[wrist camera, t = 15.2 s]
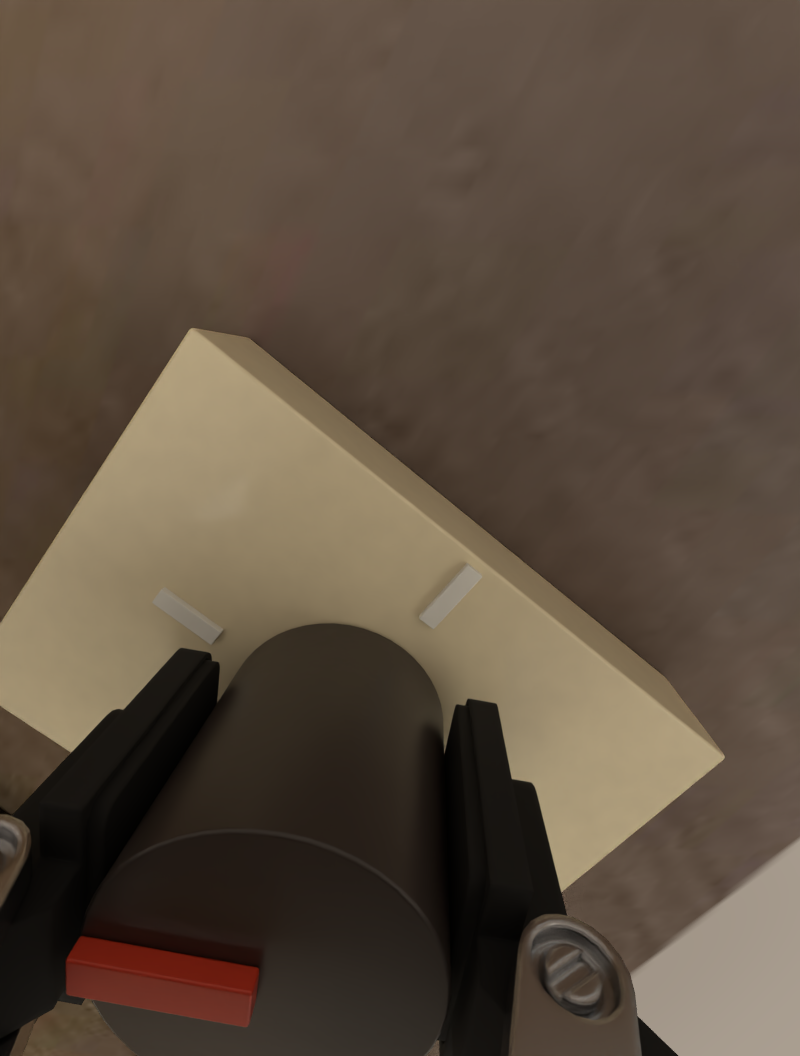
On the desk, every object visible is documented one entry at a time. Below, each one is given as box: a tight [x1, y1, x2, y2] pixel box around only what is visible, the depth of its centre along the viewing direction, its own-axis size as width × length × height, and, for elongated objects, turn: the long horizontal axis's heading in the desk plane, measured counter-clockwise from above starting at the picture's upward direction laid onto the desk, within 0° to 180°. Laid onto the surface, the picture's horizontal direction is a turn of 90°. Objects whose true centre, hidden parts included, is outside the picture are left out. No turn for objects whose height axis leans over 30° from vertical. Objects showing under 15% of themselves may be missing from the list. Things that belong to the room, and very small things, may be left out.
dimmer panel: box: [0, 328, 725, 892], centre depth 13 cm, size 13×9×3 cm
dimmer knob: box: [65, 623, 452, 1056], centre depth 9 cm, size 4×4×5 cm
